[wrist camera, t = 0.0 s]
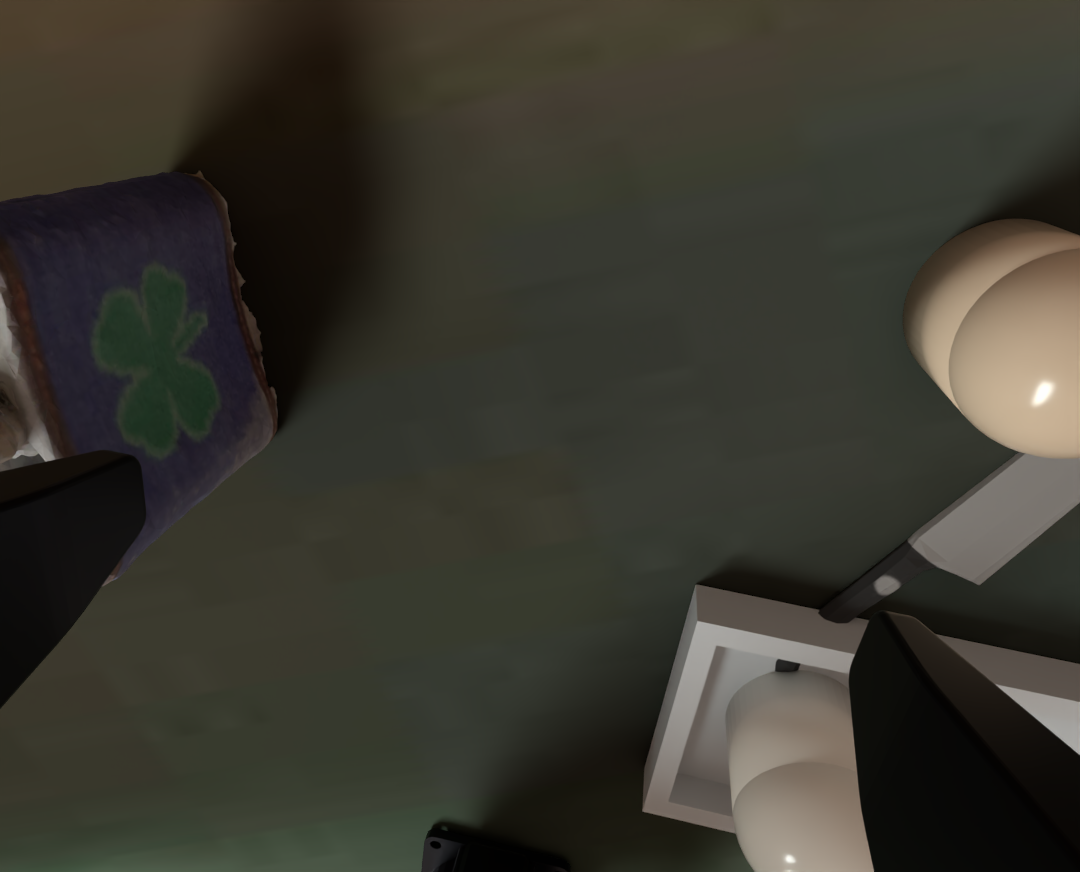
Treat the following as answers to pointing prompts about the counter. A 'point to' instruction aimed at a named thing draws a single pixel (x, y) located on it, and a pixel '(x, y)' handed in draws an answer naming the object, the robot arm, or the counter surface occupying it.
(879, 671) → the robot arm
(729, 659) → the egg carton
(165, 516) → the flask
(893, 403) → the counter surface
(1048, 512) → the chef's knife
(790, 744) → the cream egg
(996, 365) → the tan egg
